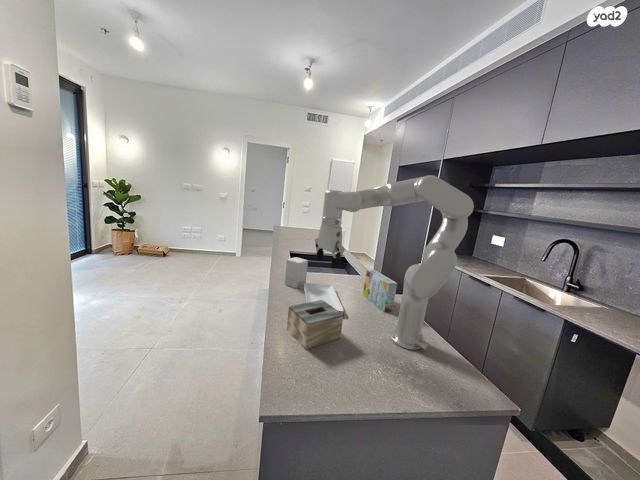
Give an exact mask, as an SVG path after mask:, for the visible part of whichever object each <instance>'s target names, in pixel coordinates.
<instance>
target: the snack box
mask: <svg viewBox="0 0 640 480" xmlns="http://www.w3.org/2000/svg"><path fill="white" fill-rule="evenodd" d="M365 272H366V273H365V280H364V285H363V290H362V296H364V297H365V298H367V299H368V300H369V301H370V302H372V304H374V306H376V307H378V308H379V309H380V310H381V311H383V312H385V313H386V312H393V309H394V304H395V299H396V295H397V294H396V293H397V288H398V285H399V283H397V282H396V281H394V280H393V279H391V278H389V277H388V276H386V275H384V274H383V273H381V272H379V271H377V270H376V269H366V271H365Z"/></svg>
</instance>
